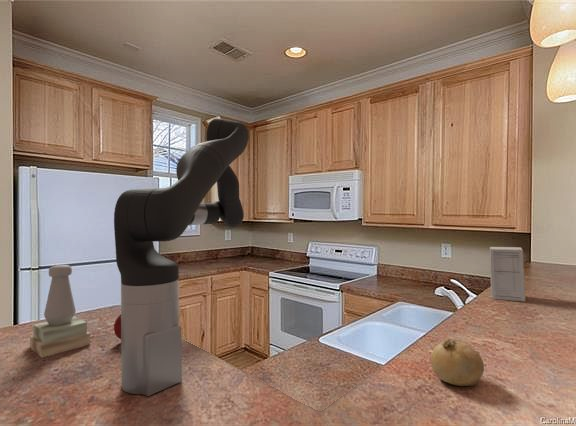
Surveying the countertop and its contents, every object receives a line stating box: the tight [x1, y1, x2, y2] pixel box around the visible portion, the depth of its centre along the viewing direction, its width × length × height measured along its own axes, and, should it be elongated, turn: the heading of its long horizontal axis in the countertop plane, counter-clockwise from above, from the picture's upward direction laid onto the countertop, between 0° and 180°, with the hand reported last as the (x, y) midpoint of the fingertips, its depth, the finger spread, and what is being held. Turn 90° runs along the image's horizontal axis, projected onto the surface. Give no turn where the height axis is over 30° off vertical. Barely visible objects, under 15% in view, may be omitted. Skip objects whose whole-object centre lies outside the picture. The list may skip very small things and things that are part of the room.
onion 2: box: [429, 337, 485, 387], centre depth 55 cm, size 8×8×7 cm
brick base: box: [29, 315, 91, 359], centre depth 73 cm, size 9×9×5 cm
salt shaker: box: [43, 264, 76, 326], centre depth 73 cm, size 6×6×13 cm
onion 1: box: [113, 313, 121, 340], centre depth 75 cm, size 6×6×8 cm
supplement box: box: [489, 246, 526, 303], centre depth 111 cm, size 10×9×17 cm
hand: (137, 213), depth 89 cm, fingers open, 8 cm apart
